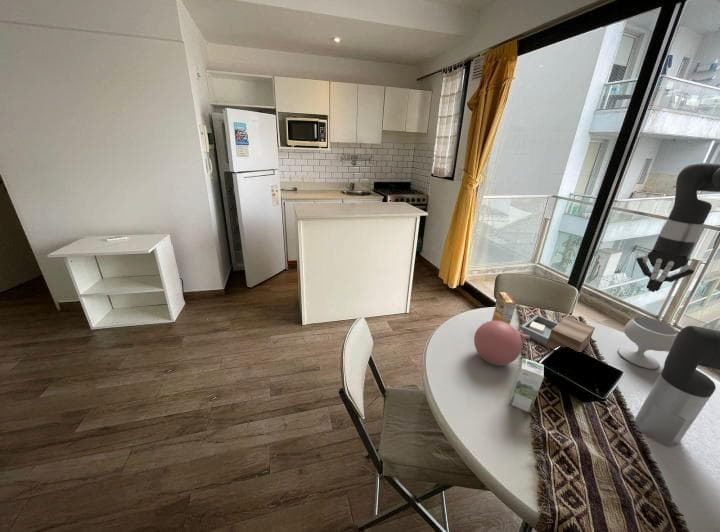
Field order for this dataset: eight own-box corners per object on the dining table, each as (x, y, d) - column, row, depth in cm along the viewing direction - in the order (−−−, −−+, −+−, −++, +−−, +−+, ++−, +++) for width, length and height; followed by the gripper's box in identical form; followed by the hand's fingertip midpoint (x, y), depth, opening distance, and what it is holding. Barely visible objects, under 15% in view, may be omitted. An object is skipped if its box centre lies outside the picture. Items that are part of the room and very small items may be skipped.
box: (545, 345, 115) (548, 338, 114) (519, 333, 123) (521, 326, 121) (560, 332, 125) (562, 325, 124) (534, 320, 132) (537, 314, 131)
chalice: (671, 375, 103) (692, 341, 97) (624, 365, 106) (641, 331, 101) (649, 351, 115) (666, 319, 109) (607, 343, 119) (622, 312, 113)
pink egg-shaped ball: (537, 373, 101) (550, 337, 95) (482, 375, 99) (492, 338, 93) (512, 345, 115) (522, 312, 109) (463, 346, 113) (471, 312, 107)
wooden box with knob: (574, 359, 108) (582, 342, 105) (545, 346, 115) (551, 329, 112) (588, 344, 118) (595, 327, 115) (560, 332, 125) (566, 316, 122)
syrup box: (530, 400, 90) (544, 363, 84) (530, 414, 85) (544, 376, 79) (510, 392, 92) (522, 356, 87) (508, 405, 87) (521, 367, 82)
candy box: (490, 322, 130) (498, 291, 124) (500, 322, 130) (508, 292, 124) (497, 333, 122) (506, 301, 116) (507, 334, 121) (517, 302, 116)
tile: (529, 325, 122) (528, 330, 123) (542, 330, 119) (541, 335, 120) (532, 321, 126) (530, 326, 127) (545, 325, 123) (543, 330, 124)
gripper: (644, 233, 85) (621, 285, 92) (711, 245, 76) (680, 303, 83) (649, 229, 90) (626, 280, 96) (712, 241, 80) (683, 295, 87)
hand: (651, 290), depth 90 cm, fingers closed
